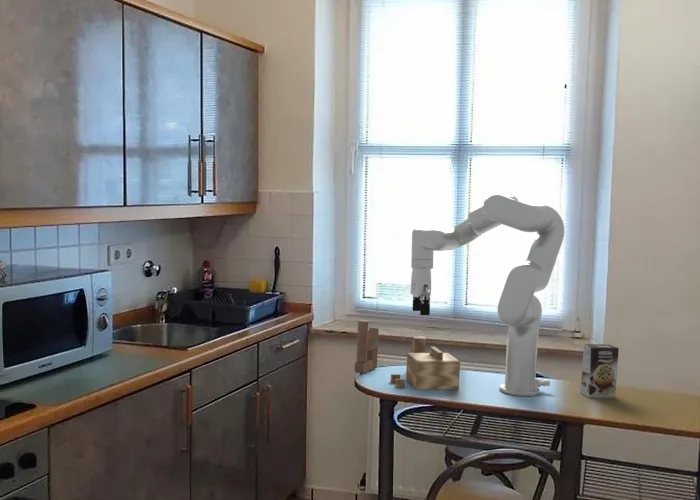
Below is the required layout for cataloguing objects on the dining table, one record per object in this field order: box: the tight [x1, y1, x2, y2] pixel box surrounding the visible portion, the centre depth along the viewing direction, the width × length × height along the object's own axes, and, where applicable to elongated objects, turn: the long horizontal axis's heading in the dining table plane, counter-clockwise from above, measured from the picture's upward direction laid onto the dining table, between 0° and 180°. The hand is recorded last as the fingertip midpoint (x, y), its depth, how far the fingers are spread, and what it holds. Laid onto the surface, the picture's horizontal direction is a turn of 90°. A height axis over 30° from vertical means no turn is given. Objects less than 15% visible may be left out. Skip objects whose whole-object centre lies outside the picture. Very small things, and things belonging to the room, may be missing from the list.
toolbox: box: [390, 352, 461, 390], centre depth 249 cm, size 20×13×9 cm, turn 101°
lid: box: [407, 346, 460, 363], centre depth 249 cm, size 14×11×3 cm
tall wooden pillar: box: [410, 335, 427, 353], centre depth 266 cm, size 4×4×12 cm
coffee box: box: [580, 343, 620, 399], centre depth 242 cm, size 9×6×16 cm
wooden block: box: [354, 319, 380, 374], centre depth 265 cm, size 4×11×18 cm, turn 152°
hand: (420, 313), depth 265 cm, fingers open, 9 cm apart
